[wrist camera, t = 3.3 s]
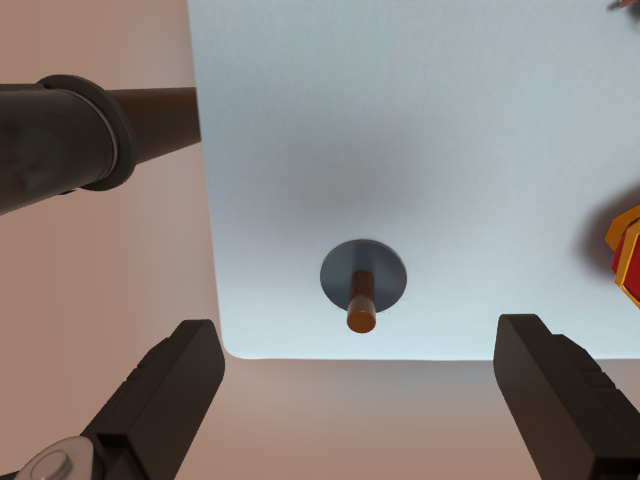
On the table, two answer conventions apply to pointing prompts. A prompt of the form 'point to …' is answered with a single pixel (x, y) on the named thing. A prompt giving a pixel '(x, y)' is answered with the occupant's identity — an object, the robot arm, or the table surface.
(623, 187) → the table surface
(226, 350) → the table surface
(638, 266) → the potion bottle
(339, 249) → the lid
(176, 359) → the robot arm
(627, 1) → the insect
